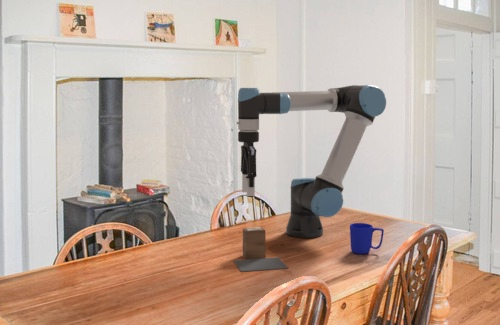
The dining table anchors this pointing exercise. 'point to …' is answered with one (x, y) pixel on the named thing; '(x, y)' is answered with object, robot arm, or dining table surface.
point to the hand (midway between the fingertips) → (248, 193)
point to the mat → (260, 264)
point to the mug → (363, 237)
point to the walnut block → (253, 243)
